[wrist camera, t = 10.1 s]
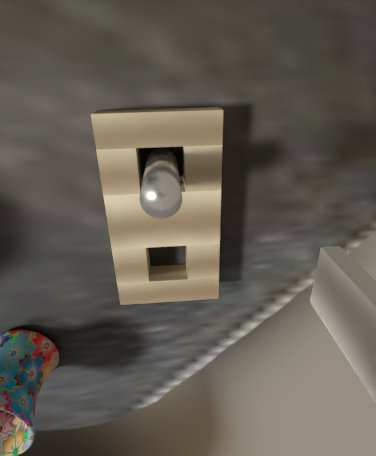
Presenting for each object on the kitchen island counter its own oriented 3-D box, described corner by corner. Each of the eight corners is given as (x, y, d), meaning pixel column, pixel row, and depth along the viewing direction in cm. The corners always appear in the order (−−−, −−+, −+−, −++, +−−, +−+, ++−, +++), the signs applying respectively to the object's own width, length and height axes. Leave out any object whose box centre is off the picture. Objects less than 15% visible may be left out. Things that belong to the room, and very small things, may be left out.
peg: (145, 148, 29) (137, 179, 21) (176, 147, 30) (181, 177, 21) (148, 178, 31) (141, 219, 22) (177, 177, 31) (183, 217, 22)
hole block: (97, 110, 28) (90, 113, 25) (217, 106, 28) (223, 109, 26) (123, 288, 37) (120, 304, 34) (214, 282, 37) (218, 298, 34)
